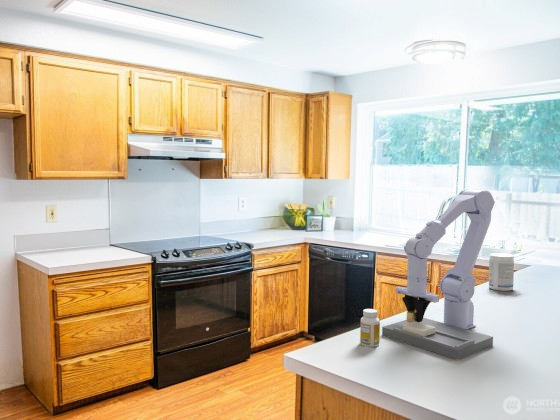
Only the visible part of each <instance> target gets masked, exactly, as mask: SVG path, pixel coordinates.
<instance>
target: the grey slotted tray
mask: <svg viewBox="0 0 560 420" xmlns="http://www.w3.org/2000/svg"><path fill="white" fill-rule="evenodd" d="M408 323H410V322H407V319H405V320H401V321H397V322H395V323H391V324H387V325H383V326H382V327H381V328H382V329H381V335H382V336H384V337H388V338H391V339H394V340H395V341H396V340H397V341H400V342H403V343H405V344H408V345H411V346H414V347H417V348H421V349H424V350H426V351H429V352H432V353H435V354H439V355H441V356H444V357H447V358H449V359H450V358H451V359H452V360H453V359H454V360H456V361H459V360H461V359H463V358H465V357H469V356H470V355H473V354H475V353H477V352H480V351H482V350H485V349H488V348H490V347H492V346H493V345H494V336H492V335H489V334H485V333H480V332H477V331H474V330H470V329H463V328H459V327H456V326H452V325H449V324H445V323H442V322H441V321H436V320H434V319H430V318H427V317H423V320H422V322H419V323H423V324H426V325H430V326H433V327H436V333H433V334H430V335H427V336H424V337H423V336H420V335H417V334H414V333H411V332H407V331H404V330H403V325H405V324H408Z"/></svg>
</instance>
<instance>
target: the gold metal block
mask: <svg viewBox="0 0 560 420" xmlns="http://www.w3.org/2000/svg"><path fill="white" fill-rule="evenodd" d="M406 320H407V322H410V323H412V322H415V321H416V310H412V311H406Z"/></svg>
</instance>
